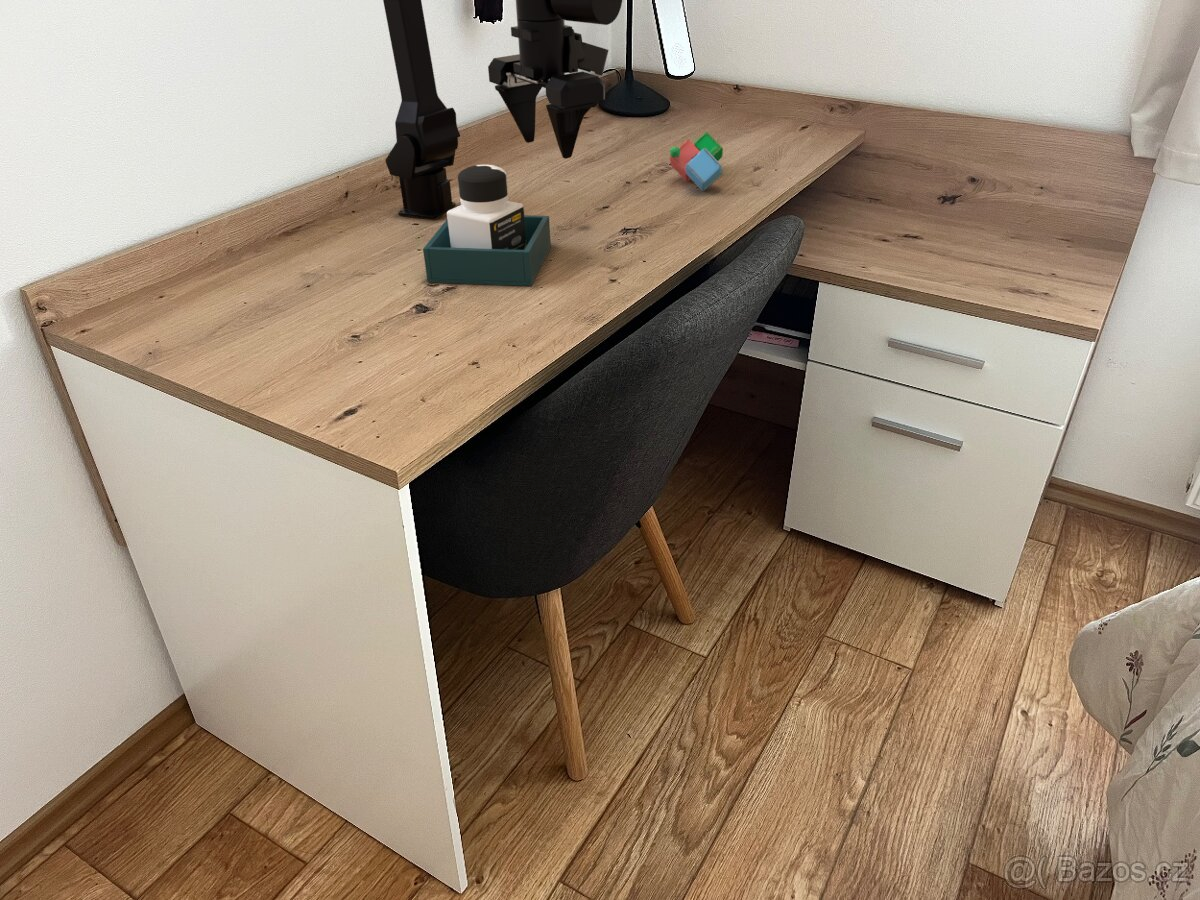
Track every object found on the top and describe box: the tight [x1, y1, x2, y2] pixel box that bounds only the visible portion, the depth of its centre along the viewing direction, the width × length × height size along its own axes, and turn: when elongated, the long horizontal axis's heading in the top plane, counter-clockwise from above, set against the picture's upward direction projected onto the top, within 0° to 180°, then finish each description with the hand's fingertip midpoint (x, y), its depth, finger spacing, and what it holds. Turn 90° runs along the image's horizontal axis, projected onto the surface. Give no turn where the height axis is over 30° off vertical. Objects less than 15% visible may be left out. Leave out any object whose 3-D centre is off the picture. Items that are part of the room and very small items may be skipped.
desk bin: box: [422, 214, 552, 287], centre depth 122 cm, size 13×13×4 cm
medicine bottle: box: [446, 164, 526, 250], centre depth 120 cm, size 7×7×12 cm
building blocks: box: [669, 131, 724, 192], centre depth 148 cm, size 8×8×12 cm
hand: (548, 149), depth 121 cm, fingers open, 9 cm apart
